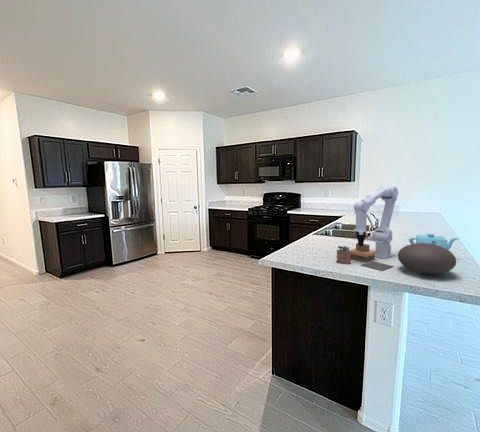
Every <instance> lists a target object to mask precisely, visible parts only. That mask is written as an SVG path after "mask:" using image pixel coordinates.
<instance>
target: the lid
mask: <svg viewBox="0 0 480 432" xmlns="http://www.w3.org/2000/svg"><path fill="white" fill-rule="evenodd" d="M349 251H351V254H354V255H359V256H364V257H368V256H371V255H375V254H377V251H375V249H374V250H373V249H370V244H368V243H363V246H359V245H358V242H357V243H355V248H351V249H349Z"/></svg>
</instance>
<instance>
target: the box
mask: <svg viewBox="0 0 480 432" xmlns="http://www.w3.org/2000/svg"><path fill="white" fill-rule="evenodd" d="M375 259H376V257H375V255H371V256H368V257H364V256H359V255H354V254H351V260H354V261H358V262H362V263H369V262H372V261H375Z"/></svg>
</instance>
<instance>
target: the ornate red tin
mask: <svg viewBox="0 0 480 432" xmlns="http://www.w3.org/2000/svg"><path fill="white" fill-rule="evenodd" d="M349 250H350V247H349V246H346V245H343V246H341V245H338V246H337V249H336V262H335V263H337V264H340V265H341V264H342V265H352V259H351V251H349Z"/></svg>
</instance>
